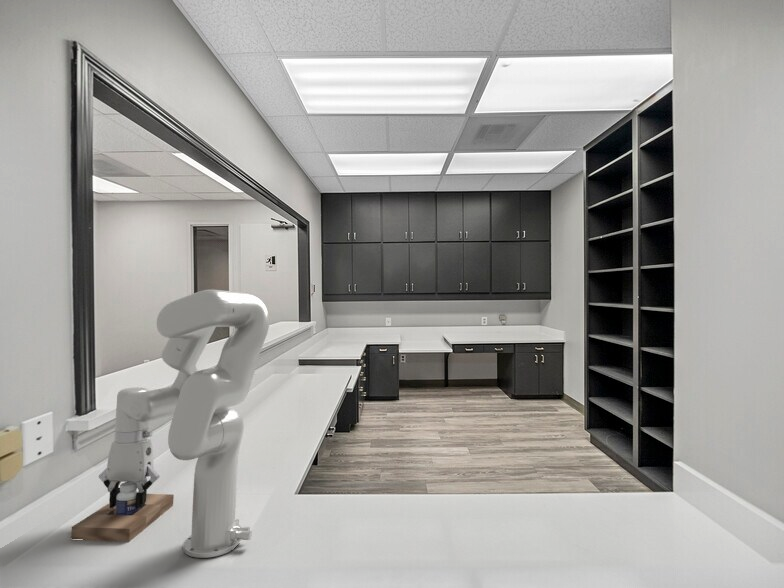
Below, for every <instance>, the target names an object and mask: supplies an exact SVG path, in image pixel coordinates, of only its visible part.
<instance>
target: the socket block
mask: <svg viewBox="0 0 784 588" xmlns="http://www.w3.org/2000/svg"><path fill="white" fill-rule="evenodd" d="M174 500H175V499H174V494H166V493H165V494H164V493H161V494H159V493H147V495H146V502H145V504H144V505H143V506H142V507H140V509H139V511H137V512H136V513H135V514H133V515H115V512H116V506H115V507H113V508H110V503H107V504H105V505H104V506H102V507H101V508H99V509H98V510H95V512H92V513H91V514H89V515H88V516H87V517H85V518H84V519H81V520H80V521H79V522H77V523H75V525H73V526H71V532H70V533H71V534H70V539H71V538H72V539H83V540H82V541H88V540H92V541H91V542H93V541H95V542H97V541H98V542H121V543H122V542H124V543H125V542H127V543H130V541H132V540H133V539H134V538H135V537H136V536H138V535H139V534H140V533H142V532H143V531H144V530H145V529H146V528H148V527H149V526H150V525H152V524H153V523H154V522H155V521H156V520H157V519H159V517H161V516H162V515H164V514H165V513H166V512H167V511H168V510H169V509H171V508H172V507H173V506H174Z"/></svg>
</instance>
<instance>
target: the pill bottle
mask: <svg viewBox="0 0 784 588" xmlns="http://www.w3.org/2000/svg"><path fill="white" fill-rule="evenodd" d="M119 488H120V491H121V492H120V493H118V495H117V497H116V512H115V515H133V514H135V513H136V512H137V511H139V509H140V508H139V509H136V494H137V493H138V492H139V491H138V488H137V485H136V482H122V483H120V485H119Z"/></svg>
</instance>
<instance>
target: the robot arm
mask: <svg viewBox="0 0 784 588" xmlns="http://www.w3.org/2000/svg"><path fill="white" fill-rule="evenodd" d="M155 322H156V328H157V331H158V333H159V334H160V335H161V336H162V337H164V338H168V341H166V344H165V346H164V347H163V349H162V352H161V359H162V361H163V362H164V363H165V364H166V365H167V366H168V367H170V368H172V369H173V370H176V371H178V374H177V375H176V377H175V379H174V382H173V383H172V384H171V385H170V387H161V388H158V389H157V388H156V389H153V390H149V389H148V388H147V387H126V388H123V389H120V390H119V391H118V392H117V396H116V407H115V409H116V411H115V427H114V439H113V440H114V441H112V442H111V445H110V449H109V453H108V458H107V464H106V465H107V466H106V468H105V469H104V470H103V471H102V472H101V473H100V474H99V475H98V479H99V480H100V481H101V482H103V485H104V486H105V487H106V488H107V492H109V500H108V501H109V503H110V508H113V507H115V506H116V497H117V495H118V493H120V492H121V491H120V485H121V484H122V483H124V482H136V485H137V490H138V491H139V492H138V493H137V494H136V509H139V508H140V507H142V506H143V505H144V504H145V502H146V495H147V494H148V493H147V492H148V491H147V490H148V489H149V488H150V487H151V486H153V484H154V483H155V482H157V480H158V479H160V477H161V476H160V474H159V473H158V472H157V471H156V469H155V468H154V450H153V444H152V439H151V438H152V436H153V432H152V431H149V430H150V429H149V422H151V421H155V420H159V419H163V418H166V417H170V416H171V417H172V419H171V423H170V426H169V429H168V438H167V442H168V444H167V445H168V448H169V452H170V453H171V454H172V456H173V457H174V458H175V459H178V460H181V461H191V460H195V459H197V460H196V462H195V468H194V473H193V474H194V475H193V477H194V478H193V490H192V491H193V497H192V498H193V499H192V514H191V534H190V535H189V536H188V537H187V538H185V540H184V542H183V547H182V549H183V552H184V553H185V554H186V555H187V556H190V557H192V558H198V559H207V558H214V557H219V556H222V555H226V554H227V553H230V552H232V551H233V550H235V549H236V548H237V547H238V546H239V545H240V544H239V542H240V541H241V542H242V541H251V539H252V535H253V534H252V533H253V532H252V530H251V527H250V526H241V525H240V519H237V518H236V508H237V506H236V504H237V483H238V482H237V481H238V470H239V469H238V468H239V467H238V466H239V465H238V464H239V454H240V448H241V444H242V439H243V435H244V421H243V420H244V419H243V418H242V416H241V413H240V412H238V411H237V410H236V409H234V408H231V407H235V406H238V405H239V404H241V403H243V402H244V401H245V400H246V398H247V396H248V394H249V392H250V388H251V385H252V382H253V377H254V375H255V371H256V367H257V366H258V365H257V364H258V361H259V357H260V353H261V352H262V349H263V346H264V343H265V341H266V338H267V336H268V332H269V327H270V315H269V311H268V309H267V306H266V305H265V303H264V302H263V301H262V300H261V298H259V297H257V296H255V295H254V294H251V293H248V292H243V291H237V290H236V291H235V290H234V291H233V290H224V289H223V290H221V289H204V290H199V291H197V292H194V293H192V294H189V295H186V296H184V297H181V298H178V299H176V300H173V301H171V302H169V303H167V304H165V306H163V308H161V309H160V311H159V313H158V315H157V317H156V321H155ZM230 327H234V331H233V332H232V333H231V335H230V336H229V337H228V338H227V340H226V341H225V342H224V345H222V346H223V347H222V349H221V353H220V356H219V359H218V362H217V364H216V365H215V366H214V367H213V368H212V367H211V368H204V369H201V370H198V369H197V366H196V365H197V362H198V361H199V360H200V357H201V355H202V353H203V352H204V350H205V348H206V346H207V344H208V343H209V341H210V339H211V337H212V335H213V333H214V331H215V329H216V328H230ZM147 477H150V479H147ZM121 482H122V483H121ZM109 503H108V504H109ZM241 542H240V543H241ZM238 544H239V545H238ZM237 545H238V546H237ZM236 546H237V547H236ZM235 547H236V548H235ZM234 548H235V549H234ZM231 550H232V551H231Z"/></svg>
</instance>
